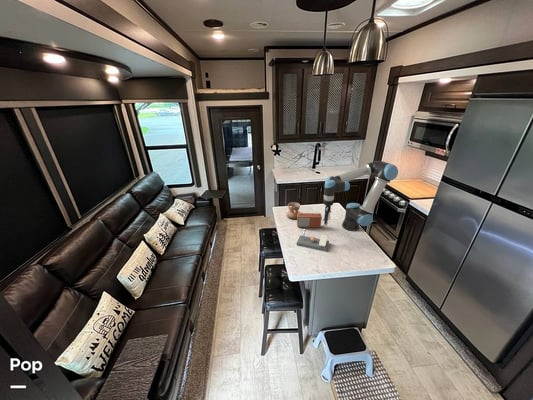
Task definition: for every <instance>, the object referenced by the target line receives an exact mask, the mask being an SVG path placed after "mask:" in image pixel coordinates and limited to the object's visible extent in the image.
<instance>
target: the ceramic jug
mask: <svg viewBox="0 0 533 400" xmlns="http://www.w3.org/2000/svg"><path fill="white" fill-rule="evenodd" d="M300 206H301V204H300V203H298V202H293V201H292V202H289V203H288V204H287V208H288V211H287V213H286V217H287V218H288V219H291V220H297V214H298V213H301V211H299V210H300Z"/></svg>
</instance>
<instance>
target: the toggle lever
mask: <svg viewBox="0 0 533 400" xmlns="http://www.w3.org/2000/svg"><path fill="white" fill-rule="evenodd" d="M302 231H303V233H302V236H303V239H304V236H306V235H305V233H306V232H307V229H306V228H304V229H303V230H302Z"/></svg>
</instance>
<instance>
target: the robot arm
mask: <svg viewBox="0 0 533 400" xmlns="http://www.w3.org/2000/svg"><path fill="white" fill-rule="evenodd" d="M371 175H375V176H374V178H375V180H374V182H373V184H372V185H371V187H370V190H369V192H368V194H367V195H366V197H365V200H364V201H363V204H360V203H357V202H349V203H347V204H346V207H345V208H346V209H345V215H344V220H343V222H342V224H341V226H342V228H343V229H344V230H347V231H352V232H354V231H358V230H359V229H360V227H361V226H362V227H367V226H369V225H371V224H372V222H373V220H374V217H373V214H374V212H373V209H374V208H375V207H376V205H377V202H378V201H379V198H380V197H381V195H382V193H383V191H384V189H385V188H386V186H387V184H390V182H391V181H394V180H395V179H396V178H397V177H398V175H399V169H398V167H397V165H395V164H393V163H388V162H386V161H382V160H376V161H371V162H369V163H365V164H364V165H363V166H361V167H357V168H355V169H352V170H350V171H346V172H344V173H341V174H338V175H335V176H334V175H329V176H328V178H327V179H326V180H325V182H324V191H323V193H324V194H323V195H322V197H323V205H324V206H325V207H324V208H325V209H324V218H323V227H324V228H328V226H329V225H328V222H329V221H330V220H331V219H330V218H331V213H332V211H331V209H332V208H331V207H332V206H333V205H334V200H335V193H340V192H346V191H349V190H350V187H351V184H350V181H353V180H355V179H358V178H362V177H364V176H371Z"/></svg>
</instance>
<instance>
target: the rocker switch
mask: <svg viewBox="0 0 533 400" xmlns="http://www.w3.org/2000/svg"><path fill="white" fill-rule="evenodd" d="M319 239H320V242H319V246H322V247H325V246H326V241H328V235H326V234H325V235H324V234H320V238H319Z"/></svg>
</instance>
